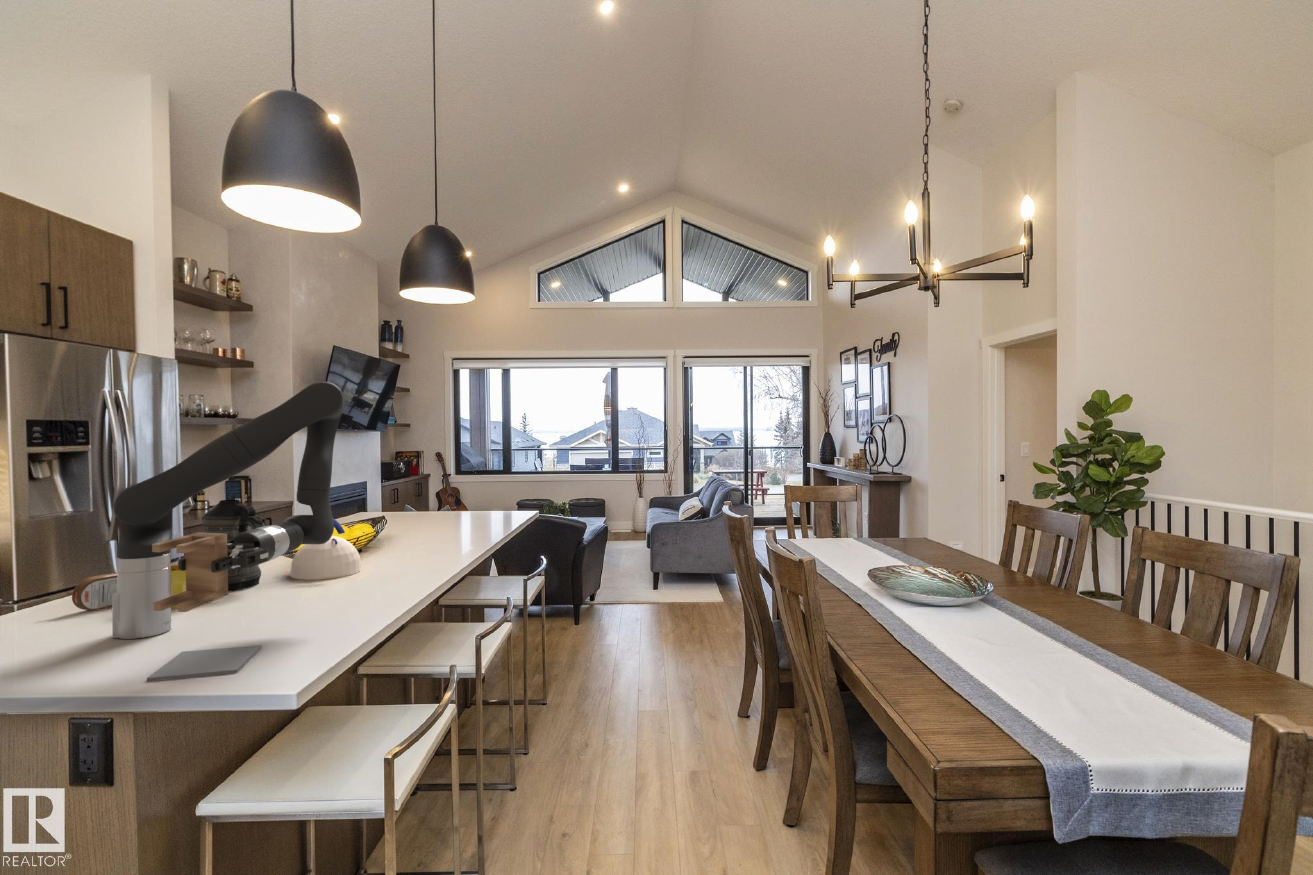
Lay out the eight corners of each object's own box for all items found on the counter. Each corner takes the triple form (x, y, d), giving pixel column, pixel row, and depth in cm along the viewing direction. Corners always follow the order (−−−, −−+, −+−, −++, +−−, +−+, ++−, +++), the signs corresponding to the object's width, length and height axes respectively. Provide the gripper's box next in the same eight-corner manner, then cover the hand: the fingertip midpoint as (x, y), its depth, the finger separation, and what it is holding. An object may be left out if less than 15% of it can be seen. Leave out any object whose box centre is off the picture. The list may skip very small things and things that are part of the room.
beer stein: (206, 581, 186) (206, 498, 186) (279, 577, 191) (279, 496, 191) (181, 595, 170) (180, 504, 170) (261, 590, 175) (261, 501, 175)
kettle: (341, 563, 213) (341, 510, 212) (374, 571, 200) (374, 515, 200) (277, 574, 196) (277, 517, 196) (309, 583, 184) (308, 522, 184)
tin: (140, 598, 166) (140, 567, 166) (148, 600, 165) (148, 568, 165) (70, 613, 152) (70, 579, 152) (78, 615, 151) (78, 580, 151)
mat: (146, 681, 110) (146, 677, 110) (181, 654, 124) (181, 651, 124) (237, 672, 114) (237, 669, 114) (261, 647, 128) (261, 644, 128)
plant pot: (211, 602, 162) (211, 565, 162) (163, 612, 153) (163, 572, 153) (193, 597, 168) (193, 561, 168) (146, 606, 159) (146, 568, 159)
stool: (199, 593, 121) (197, 532, 120) (228, 594, 121) (227, 533, 120) (153, 610, 111) (152, 544, 110) (185, 612, 111) (183, 545, 110)
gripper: (228, 526, 134) (160, 545, 117) (292, 529, 132) (232, 548, 116) (229, 561, 134) (161, 584, 117) (292, 564, 133) (233, 587, 116)
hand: (196, 566), depth 117 cm, fingers closed on stool, 6 cm apart
